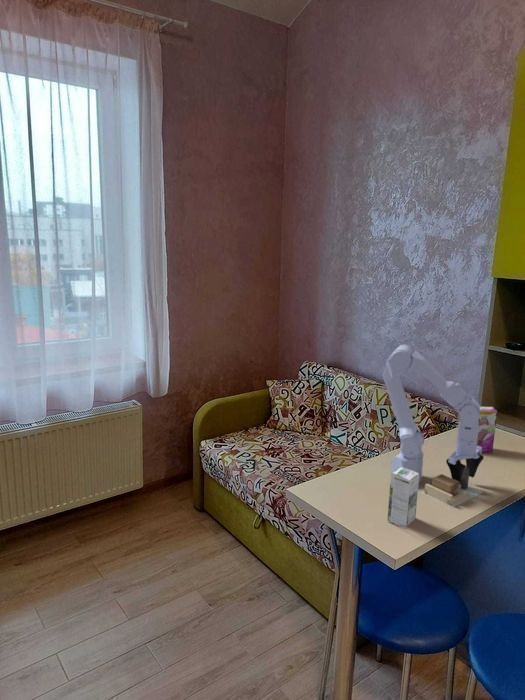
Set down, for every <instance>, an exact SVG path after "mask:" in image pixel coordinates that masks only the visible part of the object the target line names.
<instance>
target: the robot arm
mask: <svg viewBox="0 0 525 700" xmlns="http://www.w3.org/2000/svg"><path fill="white" fill-rule="evenodd" d="M408 367H409V369H408V371H410V372H418V373H420V374H421V375H422V376H424V377H425V378H426V379H427V380H428V381H430V382H431V383H432V384H433V385H434V386H436V388H437V389H438V394H439V395H440V397H441V398H442V399H444V401H446V402H447V403H448V405H450V406H451V407H452V408H453V409H454V410H456V411H458V416H459V421H458V424H457V434H456V435H457V436H456V445H455V446H456V447H455V450H454V451H453V453H451V455H449V456H448V458H447V459H446V461H445V462H446V465H447V466H448V468H449V472H450V476H451V478H452V479H454V480H457V481H459V484H460V482H461V477H462V473H463V470H464V469H465V467H468V468H469V469H470V470H469V478H470V477H471V478H473V479H474V477H475V475H476V473H477V472H478V471H477V470H478V468H479V466H480V465H481V463H482V462H483V460H484V459H485V457H484V455H482V454H483V452H482V447H479V446H477V438H478V428H479V425H478V423H479V418H480V407H481V405H480V403H479V401H478V400H477V399H476V398H474V397H473V396H472V394H471V395H468V393H466V392H465V391H464V390H463V389H462V388H461V384H460V383H458V382H457V383H455V382H454V381H453V380H451V381H450V380H446V379H445V378H444V376H442V375H441V374H440V373H439V371H438V370H437V369H435V367H433V366H432V364H431V363H429V362H428V360H426V358H425V357H424V356H423V355H422V354H421V353H420V352H419V351H417V350H415V349H414V348H413V347H412V346H411V345H409V344H406V343H403V344H400V345H398V346H397V347H396V348H395V349H394V351H393V352H392V353H391V354H390V355H389V356H388V358H387V359H386V364H385V367H384V370H383V374H382V378H383V381H384V385H385V388H386V392H387V394H388V398H389V400H390V404H391V407H392V411H393V413H394V416H395V419H396V423H397V425H398V428H399V430H398V431H399V439H400V445H399V447H400V448H399V449H400V451H399V453H398V454H397V455H395V456H393V457H392V459H391V466H390V475H391V474H392V473H394V472H395V471H396V470H398V469H399V468H400V467H401V468H406V469H409V470H412V471H414V472H417V473H419V483H420V482H421V481H422V479H423V467H424V466H423V465H424V452H423V450H422V448H423V445H424V443H425V436H424V435H423V433H422V432H421V431H420V429H419V427H418V425H417V424H416V423H415V420H414V417H413V414H412V411H411V407H410V405H409V401H408V399H407V395H406V392H405V389H404V385H403V383H402V380H401V375H402V374H403V372H404V371H405V370H406V369H407V368H408ZM439 395H438V396H439ZM463 460H465V463H466V464H463V463H462V462H461V461H463Z"/></svg>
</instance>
